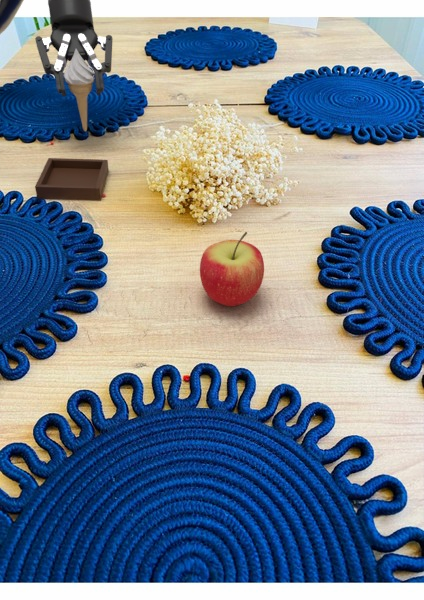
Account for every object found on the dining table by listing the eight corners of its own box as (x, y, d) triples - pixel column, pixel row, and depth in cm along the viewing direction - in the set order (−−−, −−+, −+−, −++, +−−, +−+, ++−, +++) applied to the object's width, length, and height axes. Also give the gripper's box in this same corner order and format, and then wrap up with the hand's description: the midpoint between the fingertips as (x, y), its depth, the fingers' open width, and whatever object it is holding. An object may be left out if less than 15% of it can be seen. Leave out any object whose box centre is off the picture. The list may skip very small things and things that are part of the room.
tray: (37, 198, 89) (34, 186, 88) (50, 169, 97) (48, 157, 96) (100, 200, 90) (99, 188, 88) (108, 171, 98) (107, 159, 96)
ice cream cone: (68, 126, 104) (57, 44, 94) (97, 123, 105) (88, 42, 96) (73, 138, 100) (62, 53, 90) (103, 135, 101) (95, 51, 92)
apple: (273, 305, 71) (282, 243, 64) (218, 326, 67) (222, 262, 61) (239, 271, 76) (245, 211, 69) (187, 289, 73) (188, 227, 66)
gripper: (26, -9, 92) (38, 85, 91) (109, -9, 95) (122, 82, 94) (31, 17, 99) (42, 105, 98) (109, 17, 102) (120, 101, 101)
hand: (81, 93), depth 96 cm, fingers closed on ice cream cone, 5 cm apart
